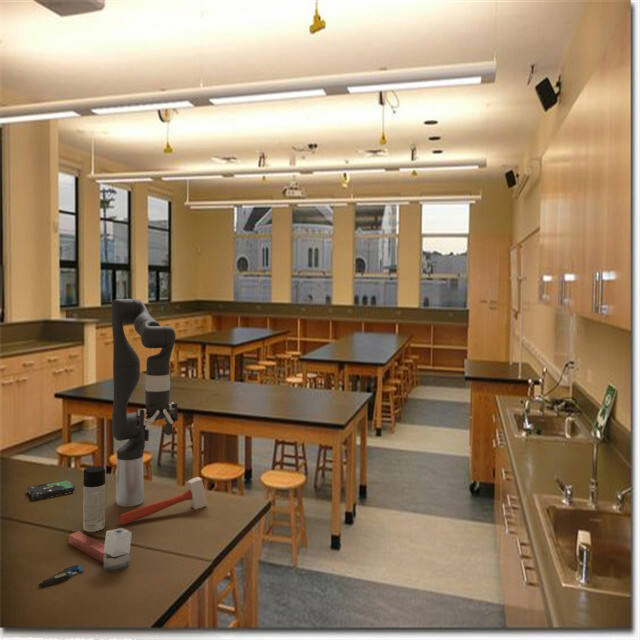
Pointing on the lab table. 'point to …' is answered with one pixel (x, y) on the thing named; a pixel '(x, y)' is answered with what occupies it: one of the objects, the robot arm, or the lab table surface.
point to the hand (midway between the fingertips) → (157, 437)
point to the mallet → (169, 502)
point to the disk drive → (50, 489)
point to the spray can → (94, 499)
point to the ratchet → (99, 552)
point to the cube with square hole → (117, 542)
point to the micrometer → (61, 575)
